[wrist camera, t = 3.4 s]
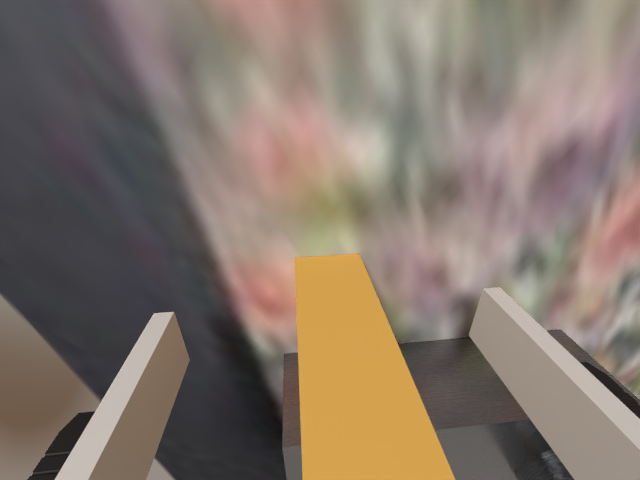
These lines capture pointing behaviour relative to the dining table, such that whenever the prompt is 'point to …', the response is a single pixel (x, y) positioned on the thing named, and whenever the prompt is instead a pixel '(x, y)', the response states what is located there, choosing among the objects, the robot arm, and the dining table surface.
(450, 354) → the grey bracket
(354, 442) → the wedge pin
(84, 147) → the dining table surface
